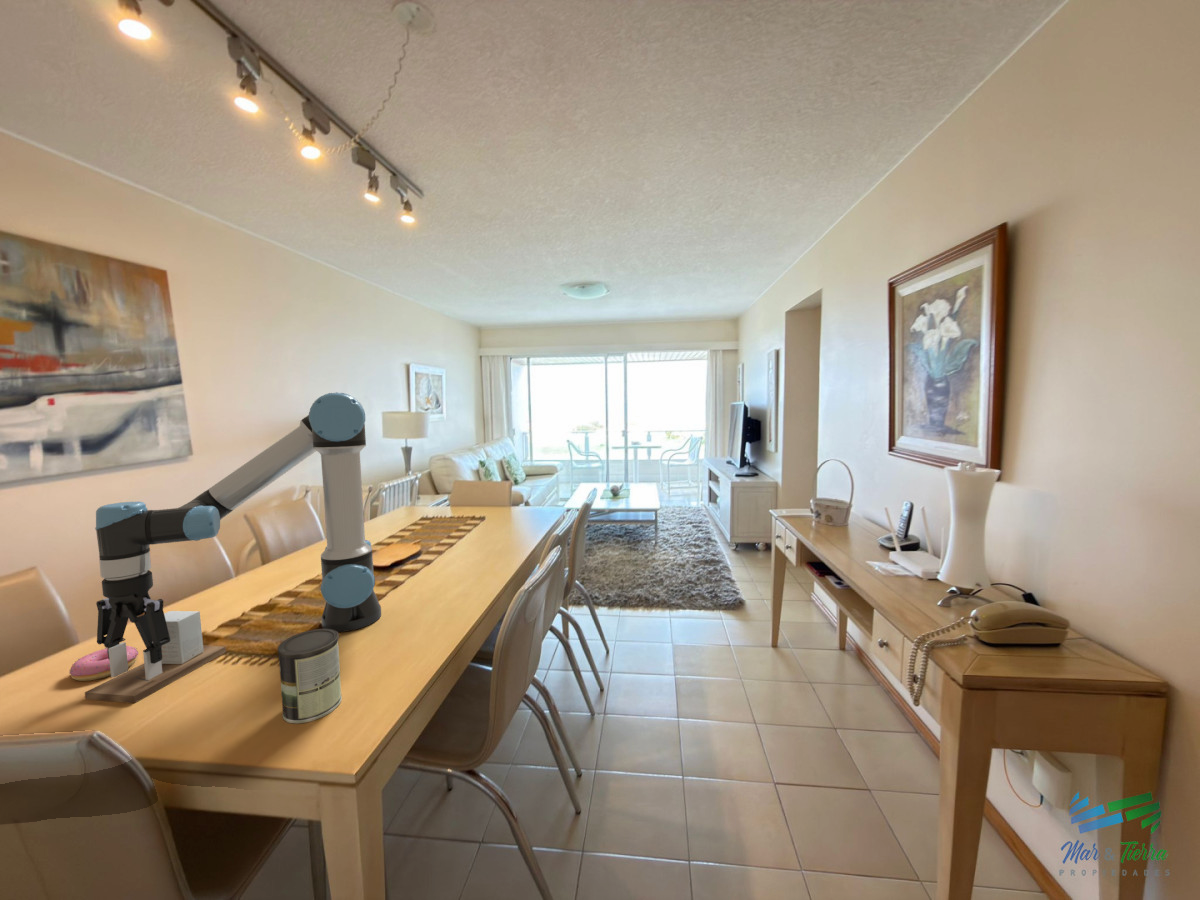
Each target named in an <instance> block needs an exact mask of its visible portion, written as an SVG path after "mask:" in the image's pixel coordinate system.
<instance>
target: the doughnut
mask: <svg viewBox="0 0 1200 900" xmlns="http://www.w3.org/2000/svg"><path fill="white" fill-rule="evenodd" d="M126 650H127V660H128V668H130V667H131V666H133V664H135V663H136V661H137V660H138V655H139V651H138V648H136V647H134V646H129V645H126ZM69 675H70V676H71V678H72V679H73V680H75V681H80V682H87V681H89V682H90V681H96V680H100V679H105V678H107V677H111V670H110V661H109V659H108V650H107V648H106V647H105V648H103V649H99V650H96V651H93V652H91V653H88V654H86V655H84V656H82V657H80V658H78V659H77V660H76V661H74V663H72V664H71V667H70V669H69Z"/></svg>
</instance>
